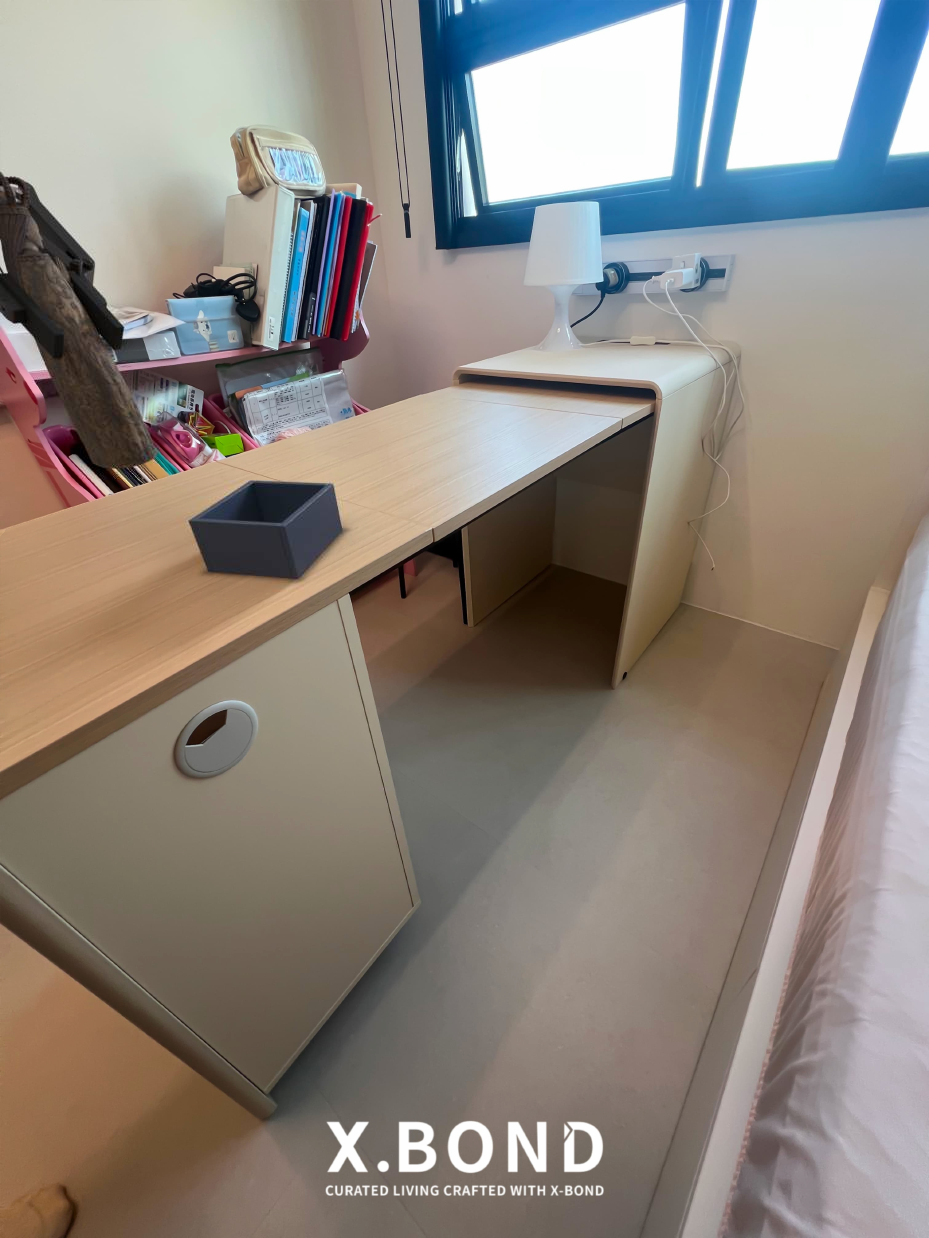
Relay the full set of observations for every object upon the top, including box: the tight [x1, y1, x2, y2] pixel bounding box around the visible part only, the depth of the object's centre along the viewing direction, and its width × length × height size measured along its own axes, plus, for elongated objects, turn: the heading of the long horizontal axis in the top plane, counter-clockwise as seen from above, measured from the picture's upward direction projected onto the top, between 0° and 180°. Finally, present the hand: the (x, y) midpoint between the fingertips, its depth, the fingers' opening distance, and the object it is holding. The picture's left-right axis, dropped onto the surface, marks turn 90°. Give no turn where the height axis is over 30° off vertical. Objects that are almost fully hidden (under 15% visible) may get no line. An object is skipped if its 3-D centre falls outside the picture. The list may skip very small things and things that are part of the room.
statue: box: [0, 171, 158, 470], centre depth 48 cm, size 9×8×25 cm
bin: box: [188, 479, 344, 580], centre depth 66 cm, size 13×14×7 cm
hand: (89, 342), depth 47 cm, fingers closed on statue, 5 cm apart
